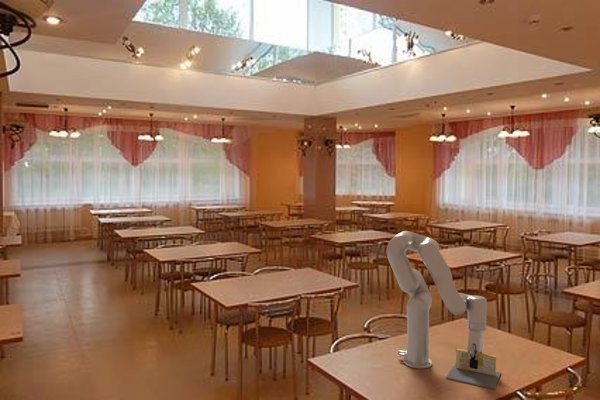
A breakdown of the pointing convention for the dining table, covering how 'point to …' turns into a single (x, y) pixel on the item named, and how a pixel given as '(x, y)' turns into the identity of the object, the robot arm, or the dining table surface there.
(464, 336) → the dining table surface
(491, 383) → the mat
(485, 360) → the candy box
